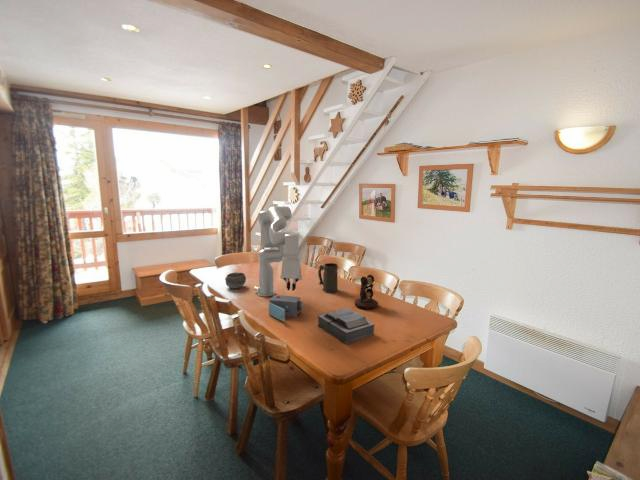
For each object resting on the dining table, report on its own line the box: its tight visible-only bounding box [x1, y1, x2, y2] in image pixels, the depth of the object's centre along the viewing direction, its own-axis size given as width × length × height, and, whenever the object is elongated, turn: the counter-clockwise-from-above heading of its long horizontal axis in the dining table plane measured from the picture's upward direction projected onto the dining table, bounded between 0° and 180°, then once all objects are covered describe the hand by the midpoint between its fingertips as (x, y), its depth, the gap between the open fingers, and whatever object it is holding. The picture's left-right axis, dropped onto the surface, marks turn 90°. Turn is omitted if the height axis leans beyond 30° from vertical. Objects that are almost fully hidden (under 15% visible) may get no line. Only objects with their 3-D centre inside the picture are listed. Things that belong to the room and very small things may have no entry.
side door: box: [268, 302, 286, 322], centre depth 178 cm, size 14×2×7 cm, turn 45°
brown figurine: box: [354, 274, 379, 310], centre depth 200 cm, size 15×15×20 cm
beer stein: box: [317, 262, 339, 294], centre depth 228 cm, size 15×11×20 cm
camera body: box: [269, 294, 304, 318], centre depth 186 cm, size 18×9×10 cm, turn 80°
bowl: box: [224, 271, 247, 290], centre depth 230 cm, size 14×15×10 cm
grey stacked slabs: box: [317, 307, 376, 345], centre depth 166 cm, size 23×27×10 cm
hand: (291, 289), depth 171 cm, fingers closed
